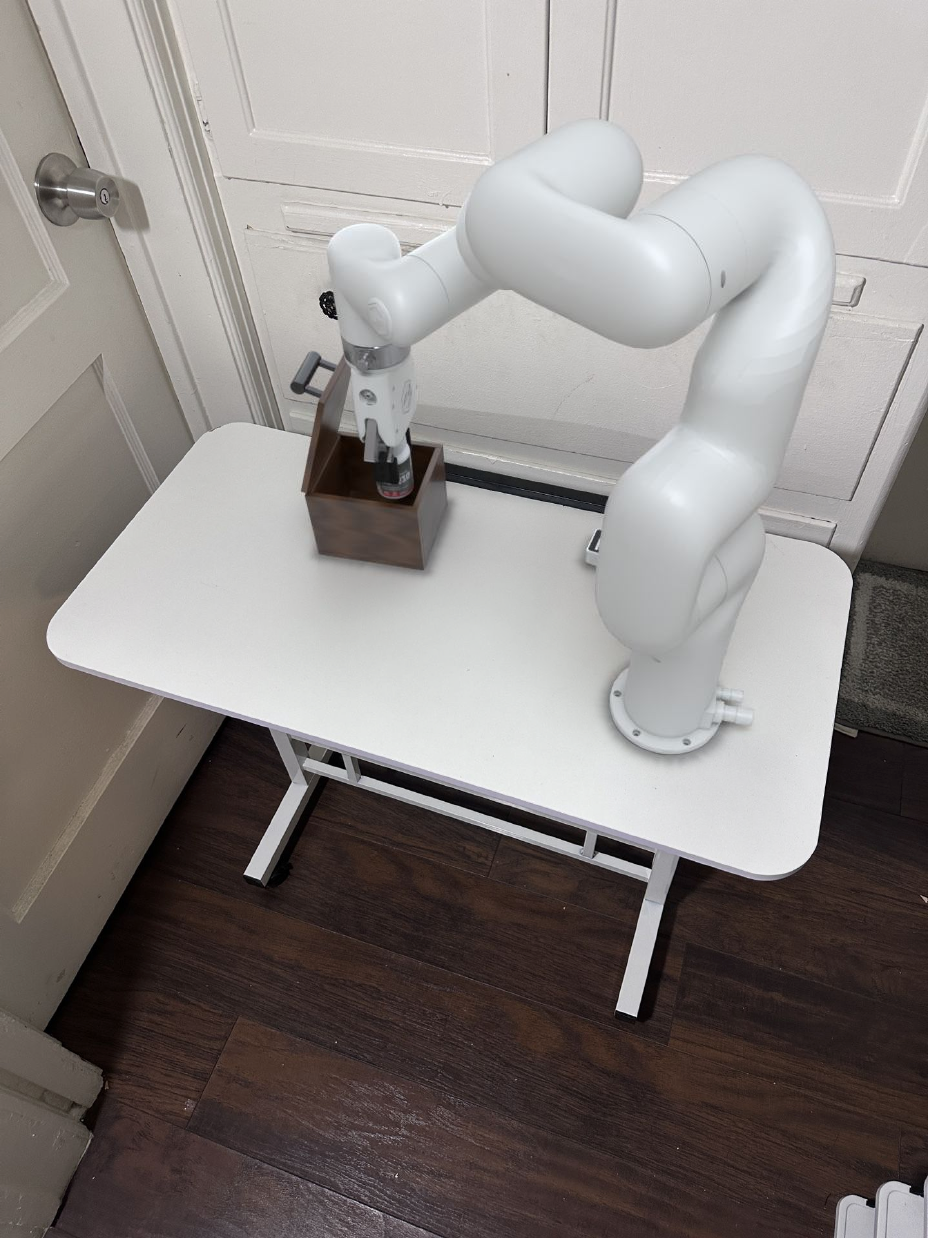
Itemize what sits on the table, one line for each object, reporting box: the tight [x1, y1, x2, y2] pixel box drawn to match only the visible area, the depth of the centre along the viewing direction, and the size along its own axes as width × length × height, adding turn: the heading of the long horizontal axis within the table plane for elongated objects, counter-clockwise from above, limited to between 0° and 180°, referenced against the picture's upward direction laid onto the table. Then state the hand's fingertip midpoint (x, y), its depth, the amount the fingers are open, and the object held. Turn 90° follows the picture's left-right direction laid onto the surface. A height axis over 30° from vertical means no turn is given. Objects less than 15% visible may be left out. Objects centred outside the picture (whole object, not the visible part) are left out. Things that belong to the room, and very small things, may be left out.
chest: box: [304, 430, 449, 571], centre depth 121 cm, size 15×13×11 cm
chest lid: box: [289, 350, 351, 494], centre depth 111 cm, size 15×13×5 cm
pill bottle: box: [377, 435, 414, 499], centre depth 115 cm, size 5×5×8 cm
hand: (393, 465), depth 115 cm, fingers closed on pill bottle, 4 cm apart
